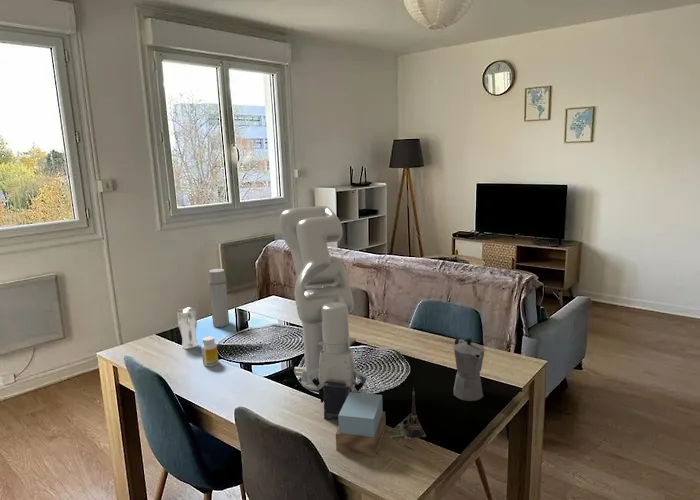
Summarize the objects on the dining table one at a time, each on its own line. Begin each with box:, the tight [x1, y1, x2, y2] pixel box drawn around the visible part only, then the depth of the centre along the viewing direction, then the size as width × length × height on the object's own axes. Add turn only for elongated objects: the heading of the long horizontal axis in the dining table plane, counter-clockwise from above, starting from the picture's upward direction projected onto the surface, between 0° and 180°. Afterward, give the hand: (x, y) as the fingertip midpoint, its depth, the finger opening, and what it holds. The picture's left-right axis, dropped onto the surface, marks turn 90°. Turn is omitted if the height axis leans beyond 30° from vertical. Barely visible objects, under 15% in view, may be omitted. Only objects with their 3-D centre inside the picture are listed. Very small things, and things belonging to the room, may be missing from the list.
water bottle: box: [207, 268, 230, 328], centre depth 214 cm, size 9×8×25 cm
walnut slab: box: [335, 411, 387, 457], centre depth 127 cm, size 10×13×5 cm
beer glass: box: [176, 307, 199, 350], centre depth 192 cm, size 7×7×15 cm
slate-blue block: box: [337, 392, 384, 437], centre depth 126 cm, size 9×12×5 cm
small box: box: [323, 382, 352, 421], centre depth 140 cm, size 11×6×10 cm, turn 168°
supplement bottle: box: [200, 335, 219, 367], centre depth 176 cm, size 5×5×10 cm
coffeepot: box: [453, 337, 485, 402], centre depth 148 cm, size 15×9×18 cm, turn 13°
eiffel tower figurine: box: [388, 387, 427, 451], centre depth 129 cm, size 15×10×13 cm
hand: (338, 401), depth 141 cm, fingers open, 9 cm apart
